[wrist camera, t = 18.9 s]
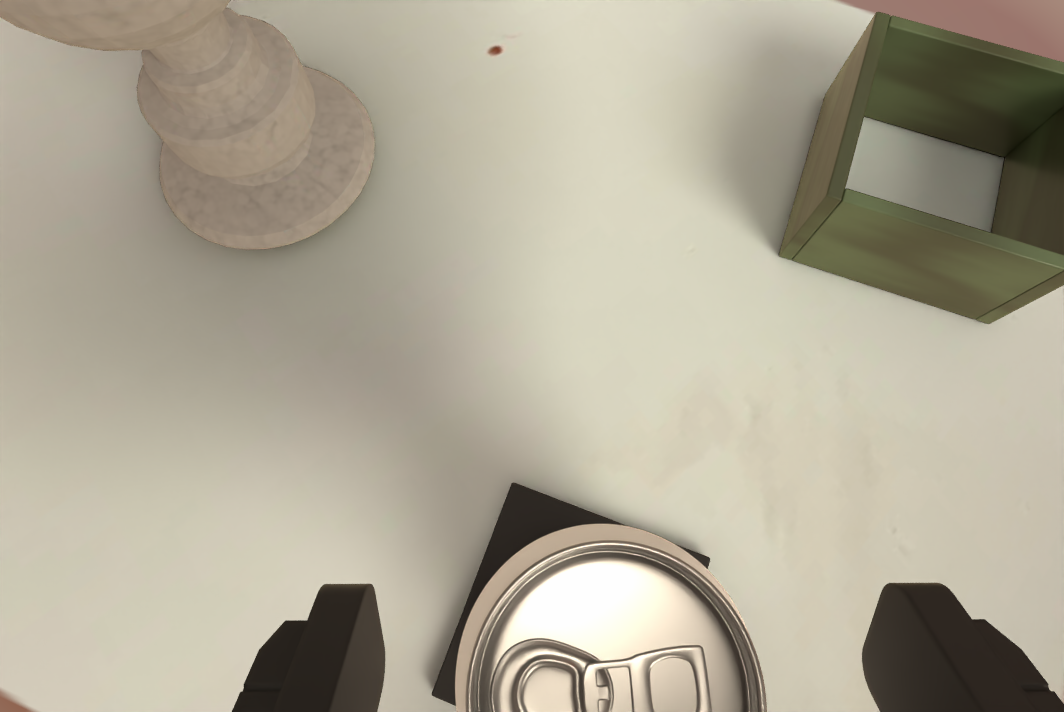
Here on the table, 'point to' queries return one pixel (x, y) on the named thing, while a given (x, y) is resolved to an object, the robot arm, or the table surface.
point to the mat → (515, 529)
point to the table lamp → (227, 114)
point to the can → (606, 631)
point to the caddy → (958, 116)
